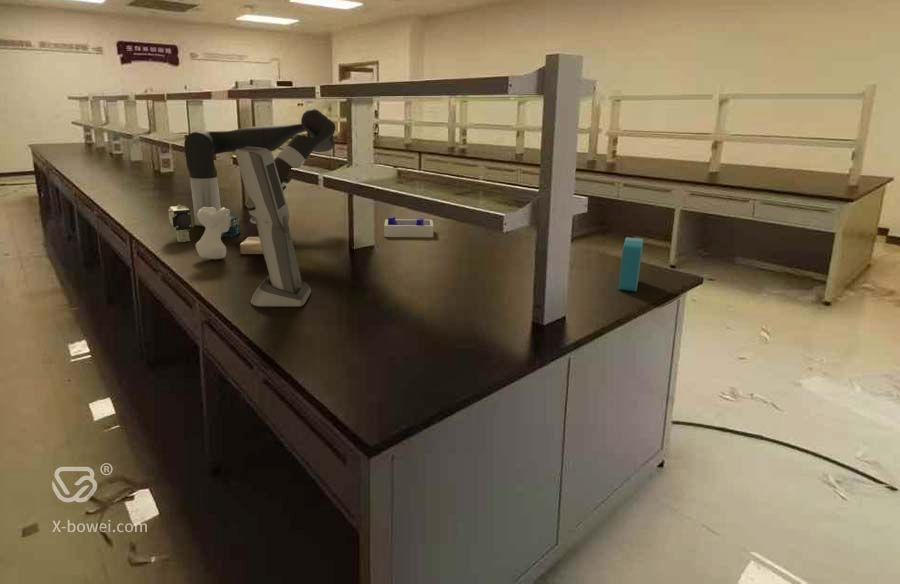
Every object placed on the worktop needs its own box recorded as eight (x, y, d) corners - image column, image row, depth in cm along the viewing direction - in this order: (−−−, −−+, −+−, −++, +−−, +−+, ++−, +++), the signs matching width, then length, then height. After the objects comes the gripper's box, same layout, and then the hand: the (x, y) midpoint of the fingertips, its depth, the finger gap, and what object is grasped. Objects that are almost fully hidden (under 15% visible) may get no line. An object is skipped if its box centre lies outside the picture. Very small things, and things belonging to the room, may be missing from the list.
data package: (621, 278, 160) (626, 236, 157) (638, 280, 159) (643, 237, 155) (617, 291, 150) (623, 245, 146) (636, 293, 148) (642, 247, 144)
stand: (249, 245, 186) (248, 236, 185) (281, 246, 186) (280, 236, 185) (240, 253, 176) (239, 243, 175) (274, 253, 177) (273, 243, 176)
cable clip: (424, 234, 208) (424, 217, 206) (420, 237, 203) (421, 220, 202) (392, 232, 210) (392, 215, 208) (388, 234, 206) (388, 217, 204)
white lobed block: (190, 261, 167) (184, 209, 162) (219, 252, 177) (213, 203, 172) (217, 265, 164) (211, 212, 159) (244, 256, 174) (239, 206, 169)
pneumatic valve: (188, 236, 196) (184, 201, 192) (194, 244, 186) (190, 207, 182) (170, 238, 193) (165, 202, 189) (175, 246, 183) (170, 208, 180)
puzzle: (241, 233, 203) (239, 216, 201) (233, 237, 197) (231, 219, 195) (224, 232, 203) (222, 215, 201) (216, 236, 198) (214, 219, 196)
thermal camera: (259, 291, 143) (246, 145, 132) (312, 291, 144) (304, 146, 133) (246, 307, 132) (231, 150, 121) (303, 307, 133) (293, 151, 122)
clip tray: (385, 230, 212) (385, 219, 211) (432, 230, 213) (432, 219, 212) (384, 237, 202) (384, 225, 200) (433, 237, 203) (433, 226, 202)
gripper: (306, 175, 177) (272, 218, 173) (285, 170, 187) (252, 211, 184) (289, 158, 172) (253, 203, 168) (268, 154, 182) (234, 196, 179)
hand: (253, 207), depth 176 cm, fingers closed on housing, 5 cm apart
